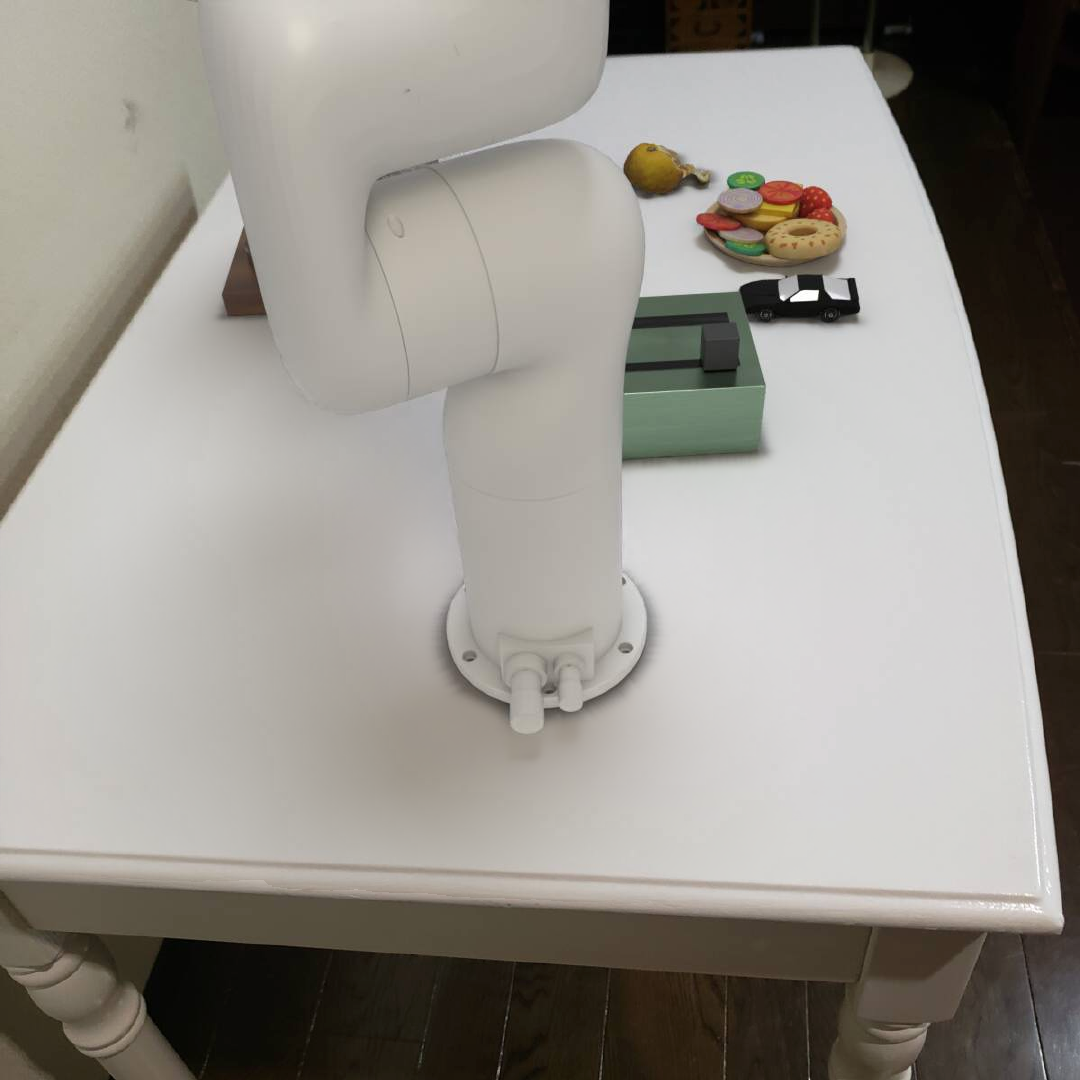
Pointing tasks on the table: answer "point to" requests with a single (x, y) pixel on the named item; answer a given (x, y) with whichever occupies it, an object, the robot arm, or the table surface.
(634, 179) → the golden rounded piece
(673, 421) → the toaster
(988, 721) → the table surface
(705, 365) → the slider
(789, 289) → the toy car
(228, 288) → the control block
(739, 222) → the toy food set
